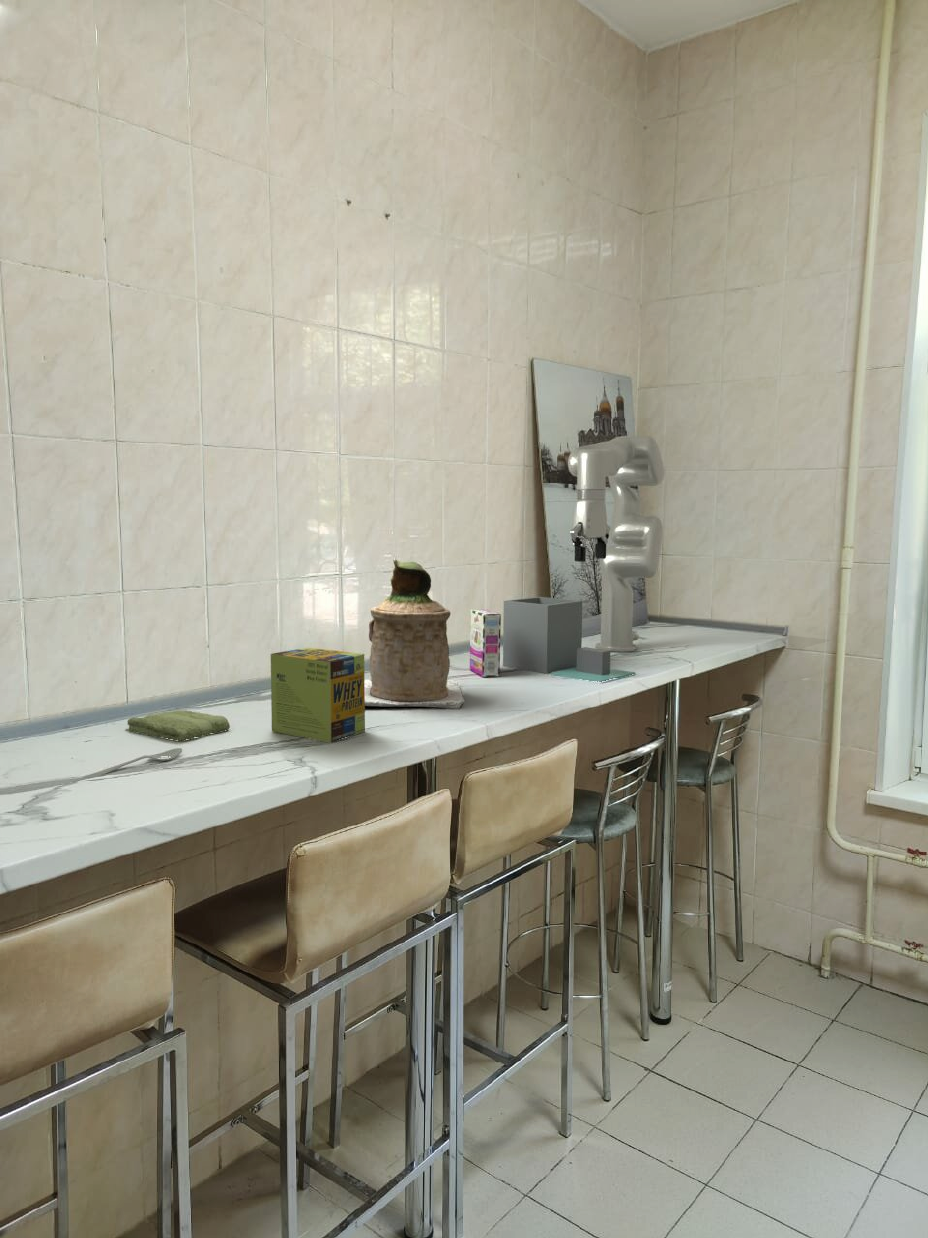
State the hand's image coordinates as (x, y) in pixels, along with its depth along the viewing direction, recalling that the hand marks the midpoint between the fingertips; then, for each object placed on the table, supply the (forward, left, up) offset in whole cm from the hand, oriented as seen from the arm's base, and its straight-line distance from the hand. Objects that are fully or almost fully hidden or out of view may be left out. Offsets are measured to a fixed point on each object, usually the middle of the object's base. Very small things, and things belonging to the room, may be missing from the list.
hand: (590, 559), depth 242 cm
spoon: (+132, 0, -30) cm, 136 cm away
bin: (+10, -9, -29) cm, 32 cm away
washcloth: (+114, -16, -30) cm, 119 cm away
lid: (+9, +8, -30) cm, 32 cm away
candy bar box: (+29, -13, -29) cm, 43 cm away
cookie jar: (+62, -6, -30) cm, 69 cm away
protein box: (+96, +4, -30) cm, 100 cm away
